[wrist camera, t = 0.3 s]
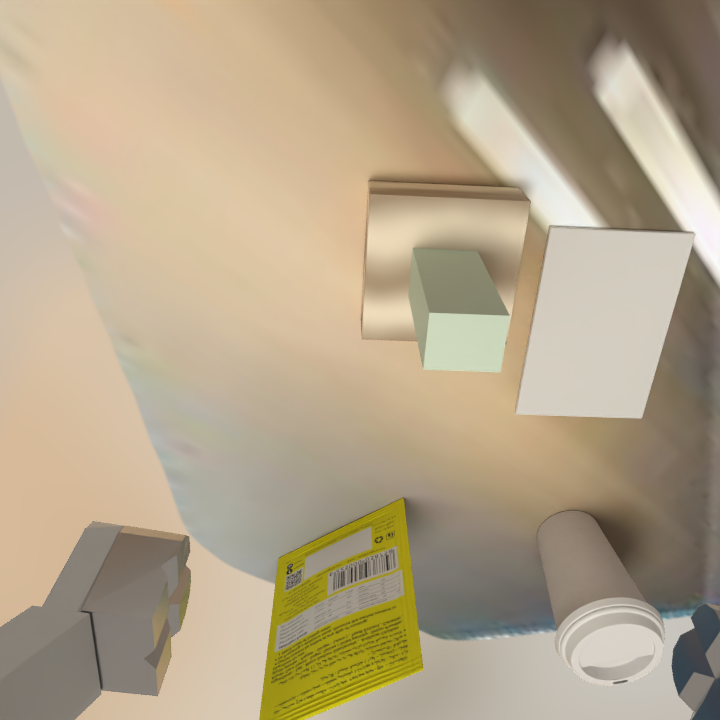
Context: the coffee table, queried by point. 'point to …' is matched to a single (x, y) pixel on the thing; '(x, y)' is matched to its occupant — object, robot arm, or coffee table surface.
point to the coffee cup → (596, 604)
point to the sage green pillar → (456, 311)
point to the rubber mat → (600, 320)
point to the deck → (435, 244)
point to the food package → (342, 618)
